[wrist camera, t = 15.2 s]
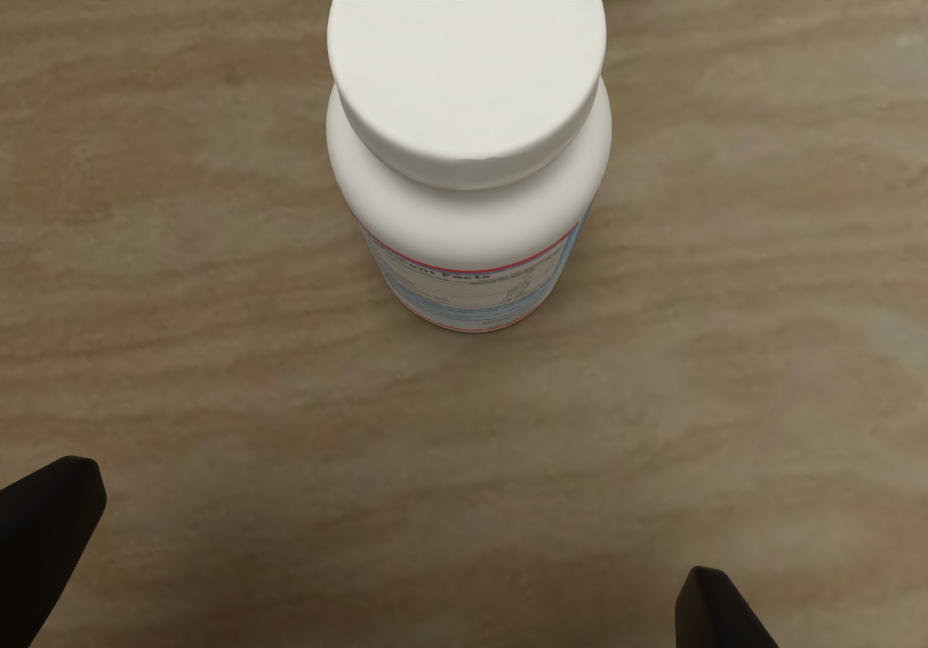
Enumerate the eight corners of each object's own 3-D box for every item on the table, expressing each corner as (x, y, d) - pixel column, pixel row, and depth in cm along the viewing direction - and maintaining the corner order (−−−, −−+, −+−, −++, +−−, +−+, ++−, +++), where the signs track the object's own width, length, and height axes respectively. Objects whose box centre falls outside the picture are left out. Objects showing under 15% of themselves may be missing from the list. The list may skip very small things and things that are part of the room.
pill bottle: (442, 131, 22) (412, -189, 11) (596, 220, 22) (724, -31, 11) (342, 275, 21) (203, 75, 10) (500, 373, 21) (531, 271, 10)
